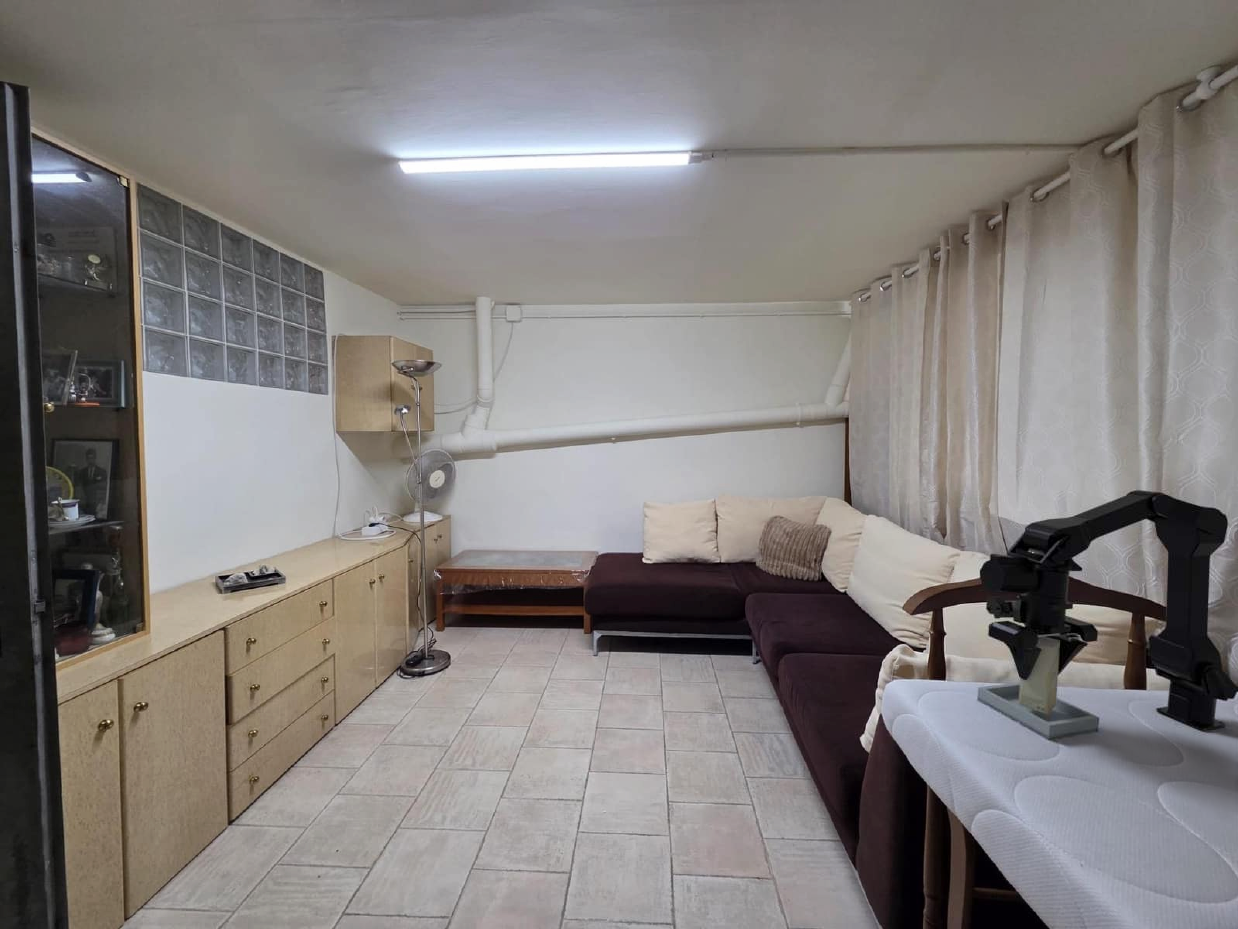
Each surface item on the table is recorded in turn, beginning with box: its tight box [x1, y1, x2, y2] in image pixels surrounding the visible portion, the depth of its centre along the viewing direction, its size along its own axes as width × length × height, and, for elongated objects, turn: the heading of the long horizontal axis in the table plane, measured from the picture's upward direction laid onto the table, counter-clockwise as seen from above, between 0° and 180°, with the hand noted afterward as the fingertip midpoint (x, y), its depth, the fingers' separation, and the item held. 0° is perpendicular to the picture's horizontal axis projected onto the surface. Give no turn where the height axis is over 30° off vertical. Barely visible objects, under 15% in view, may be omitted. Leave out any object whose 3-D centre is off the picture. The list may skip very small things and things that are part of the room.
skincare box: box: [1019, 636, 1060, 714], centre depth 90 cm, size 6×4×12 cm
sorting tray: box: [976, 681, 1100, 740], centre depth 91 cm, size 12×13×2 cm
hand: (1038, 677), depth 90 cm, fingers closed on skincare box, 7 cm apart
